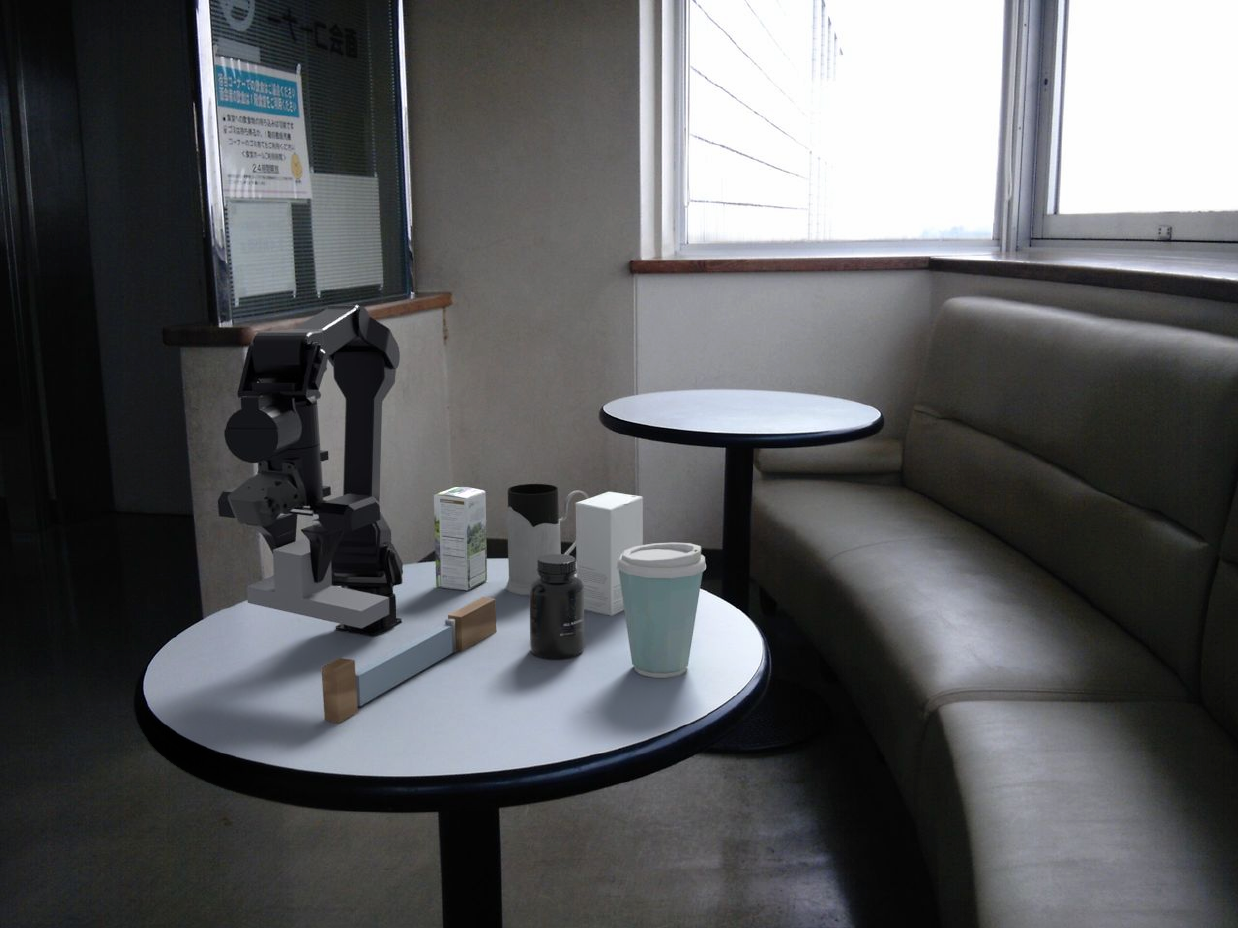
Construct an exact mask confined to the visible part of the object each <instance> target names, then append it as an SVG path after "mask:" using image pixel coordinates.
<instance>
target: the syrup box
mask: <svg viewBox="0 0 1238 928" xmlns="http://www.w3.org/2000/svg"><path fill="white" fill-rule="evenodd" d="M486 499H487V498H486V491H485V490H484V489H479V488H473V487H466V486H461V487H460V486H458V487H455V486H454V487H452V488H450V489H446V490H444V491H440V492H439V493H435V494H433V509H434V510H433V511H434V513H433V517H434V554H435V586H436V587H437V588H444V589H451V590H461V591H470V590H471V589H474V588H475V587H477V586H479V585H481V584H483V583H484V582H486V581H487V580H488V569H487V568H488V567H487V566H488V565H487V564H488V562H487V559H488V558H487V555H488V554H487V514H486V513H487V511H486V509H487V507H486V505H487V503H486V501H487V500H486Z"/></svg>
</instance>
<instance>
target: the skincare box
mask: <svg viewBox="0 0 1238 928" xmlns="http://www.w3.org/2000/svg"><path fill="white" fill-rule="evenodd" d="M643 506H644V496H641V495H635V494H634V495H633V494H627V493H626V494H625V493H621V492H615V491H606V492H604V493H603V492H602V493H600V494H598V495H595V496H592V497H589V499H586V498H585V499H583V500H580V501H577V502H575V541H576V548H575V549H576V550H575V552H576V554H575V559H576V569H577V573H576V577H577V578H578V579H580V580H581V582H582V583H583V585H584V611H588V612H592V613H596V614H602V615H606V616H610V617H612V616H615V615H617V614H619V613H620V612H623V611H624V604H623V598H622V591H621V584H620V577H619V570H618V569H617V565H618V559H619V556H620V554H622V553H623V552H624V550H627V549H630V548H632V547H635V546H640V545H644V538H643V537H644V530H643V529H644V528H643V527H644V521H643V520H644V515H643V513H644V507H643Z"/></svg>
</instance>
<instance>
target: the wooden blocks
mask: <svg viewBox="0 0 1238 928" xmlns="http://www.w3.org/2000/svg"><path fill="white" fill-rule="evenodd" d="M496 602H497V601H496V598H492V597H491V598H490V597H484V596H482V597H480V598H478V599H475V600H474V601H472V602H471V603H468V604H466V605H464V606H462V607H460V608H458V609H456V610H455V611H453V612H451V613H449V614H448V615H447V619H455V633H456V651H458V652H464V651H466V650H467V649H469V648H470V647H473V646H474V645H476V644H478V643H480V642H481V641H483V640H485V639H486V638H488V637H490V636H491V635H493V634H495V633H497V607H496ZM320 669H321V670H320V671H321V683H322V698H323V701H322V702H323V709H324V710H323V713H324V714H323V715H324V720H325V721H327V722H328V721H329V722H332V723H338V724H341V723H342V722H345V720H347V719H349V718H351V717H353V716H354V715H356V714H357V713H358V705H357V692H356V675H355V671H356V660H355V659H350V658H343V657H338V658H336V659H334V660H332V661H330V662H328V663H325V664H324V665H322V666H321V668H320Z"/></svg>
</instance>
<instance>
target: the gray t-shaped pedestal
mask: <svg viewBox="0 0 1238 928" xmlns="http://www.w3.org/2000/svg"><path fill="white" fill-rule="evenodd" d="M272 561H273V562H272V563H273V565H272V566H273V575H272V576H269V577H267V578H264V579H262V580H261V579H260V581H259V580H258V581H256V582H254V583H252V584H249V585H247V586H246V593H247V595H246V596H247V597H246V598H247V599H246V600H247V604H251V605H255V606H260V607H264V608H268V609H273V610H278V611H282V612H287V613H291V614H295V615H300V616H304V617H309V618H314V619H318V620H321V621H322V620H323V621H327V622H331V623H335V624H338V625H339V624H344V625H348V626H353V627H357V628H364V627H366V626H367V625H369V624H371V623H373V622H375V621H377V620H379V619H381V618H383V617H385V616H387V615H389V597H385V596H380V595H375V594H370V593H366V592H361V591H356V590H351V589H346V588H341V586H332V576H331V562H330V564H329V567H328V569H327V572H326V574H325V577H324V579H323V581H321V582H319V583H315V582H314V578H313V573H312V564H311V553H310V542H309V539H308V538H301V539H298V540H296V542H293V543H290V544H287V545H285V546H282V547H279V548H277V549H274V550H273V554H272Z"/></svg>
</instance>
